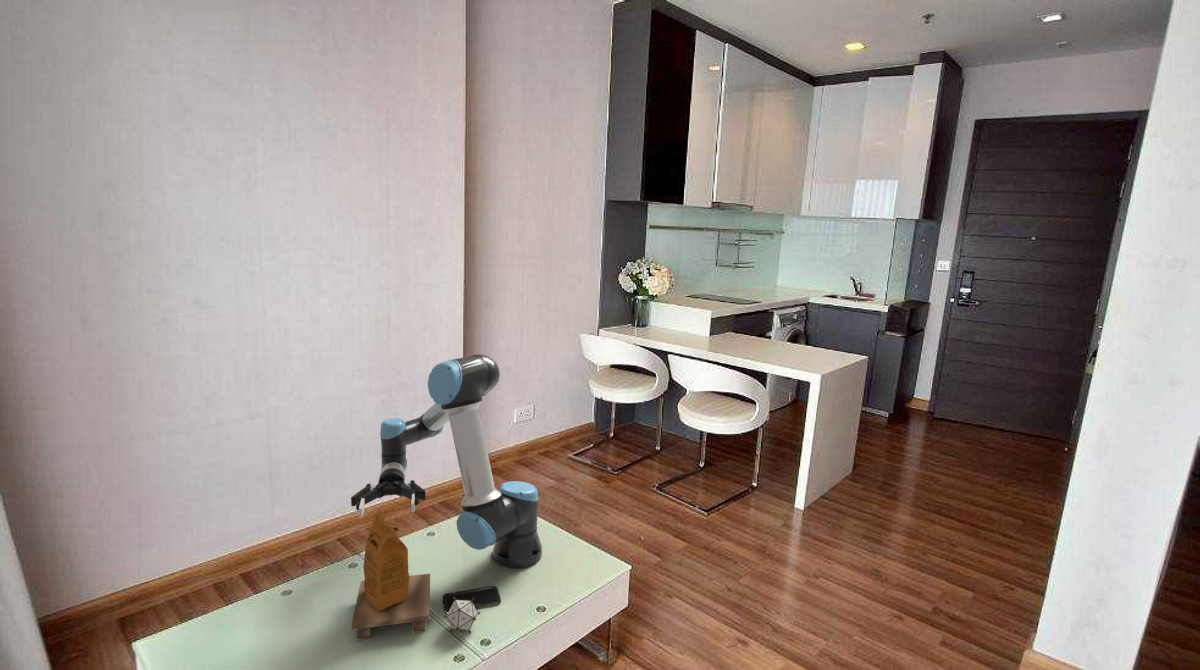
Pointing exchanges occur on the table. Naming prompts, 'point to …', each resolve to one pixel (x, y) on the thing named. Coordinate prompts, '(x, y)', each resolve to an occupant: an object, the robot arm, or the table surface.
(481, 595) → the phone
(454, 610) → the game die
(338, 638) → the table surface
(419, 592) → the small wooden platform
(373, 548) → the coffee package
